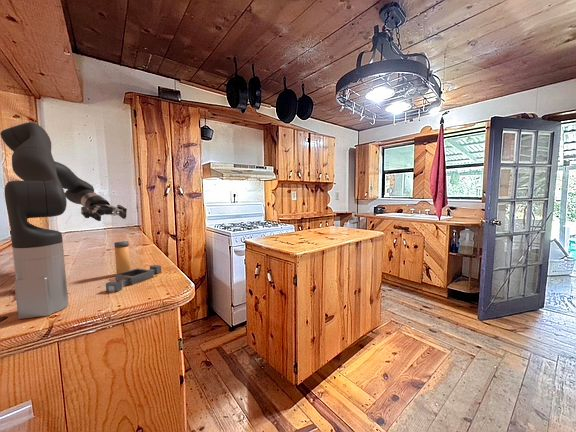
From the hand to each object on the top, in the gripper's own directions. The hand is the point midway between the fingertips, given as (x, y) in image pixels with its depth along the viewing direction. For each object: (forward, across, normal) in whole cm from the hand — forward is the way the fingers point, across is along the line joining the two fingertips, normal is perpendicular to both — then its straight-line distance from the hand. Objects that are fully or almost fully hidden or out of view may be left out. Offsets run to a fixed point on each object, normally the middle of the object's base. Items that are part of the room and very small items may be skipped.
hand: (112, 217), depth 99 cm
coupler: (+13, -1, +18) cm, 22 cm away
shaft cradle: (+24, -3, +14) cm, 28 cm away
